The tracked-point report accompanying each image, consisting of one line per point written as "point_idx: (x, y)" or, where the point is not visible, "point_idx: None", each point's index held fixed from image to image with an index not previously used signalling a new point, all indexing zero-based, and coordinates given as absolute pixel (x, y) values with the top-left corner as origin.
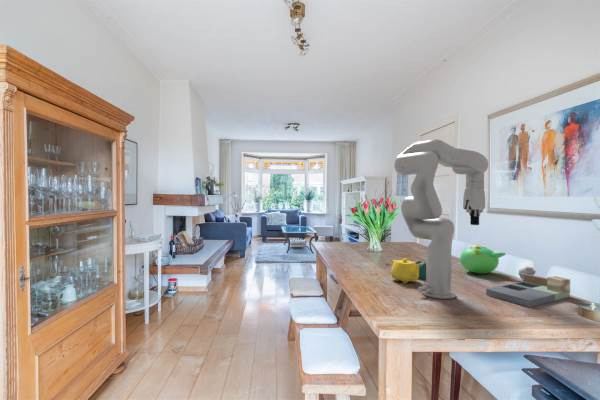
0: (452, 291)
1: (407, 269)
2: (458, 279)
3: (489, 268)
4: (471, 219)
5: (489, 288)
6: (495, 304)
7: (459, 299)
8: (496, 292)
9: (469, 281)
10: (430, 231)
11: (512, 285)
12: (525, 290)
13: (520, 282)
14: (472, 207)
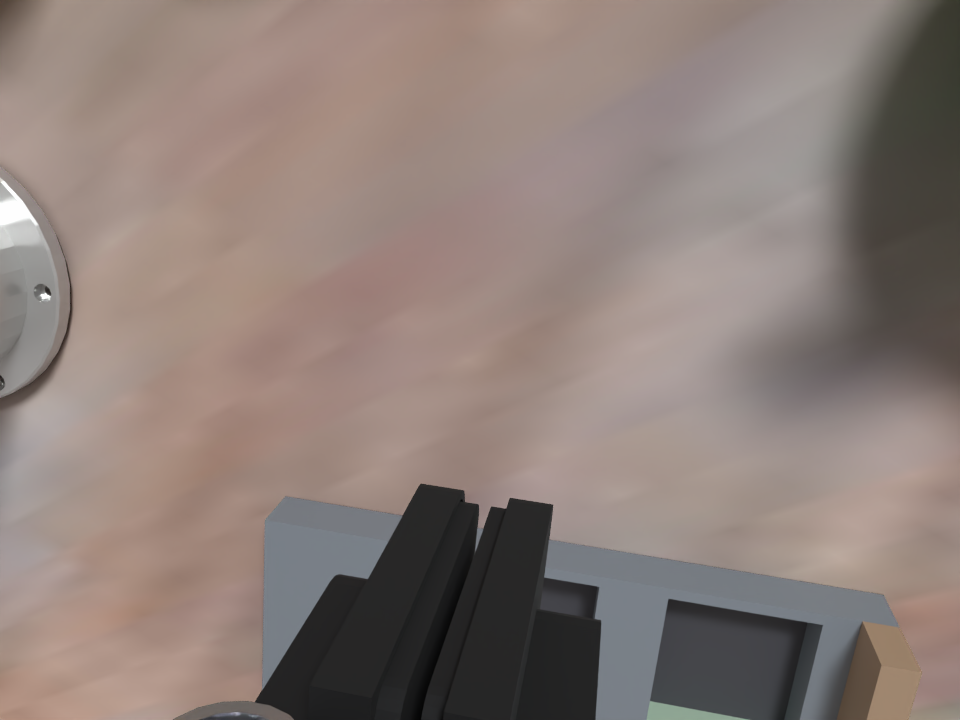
0: (39, 344)
1: None
2: (573, 58)
3: None
4: (295, 659)
5: (298, 530)
6: (140, 618)
7: (8, 431)
8: (266, 592)
9: (594, 182)
10: None
11: (597, 599)
12: None
13: (770, 615)
14: None
